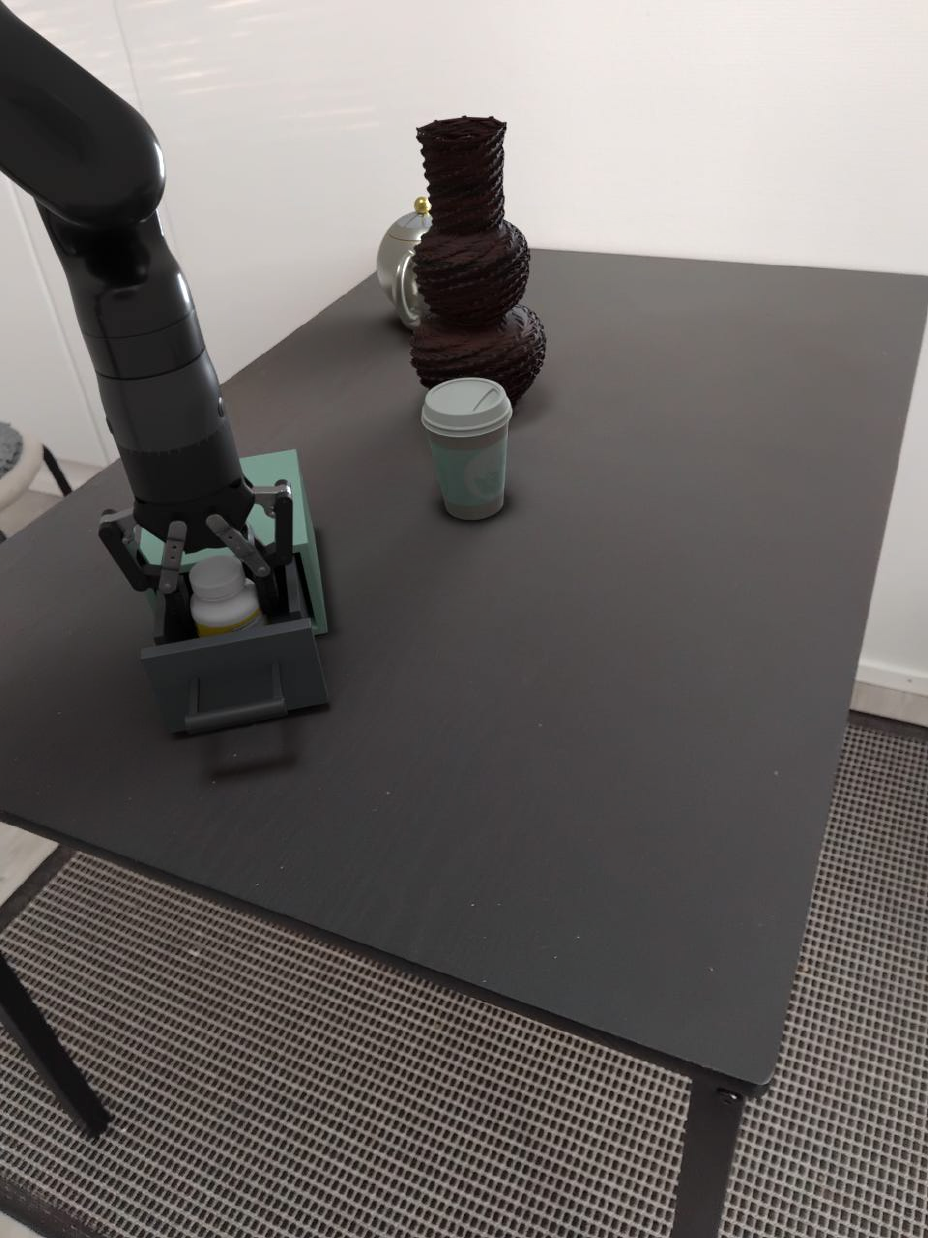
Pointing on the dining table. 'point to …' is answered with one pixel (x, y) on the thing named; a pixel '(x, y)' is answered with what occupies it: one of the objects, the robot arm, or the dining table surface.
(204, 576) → the supplement bottle
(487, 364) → the vase
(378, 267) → the teapot
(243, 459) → the green drawer cabinet
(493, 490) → the coffee cup
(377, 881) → the dining table surface
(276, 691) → the grey pull-out drawer
